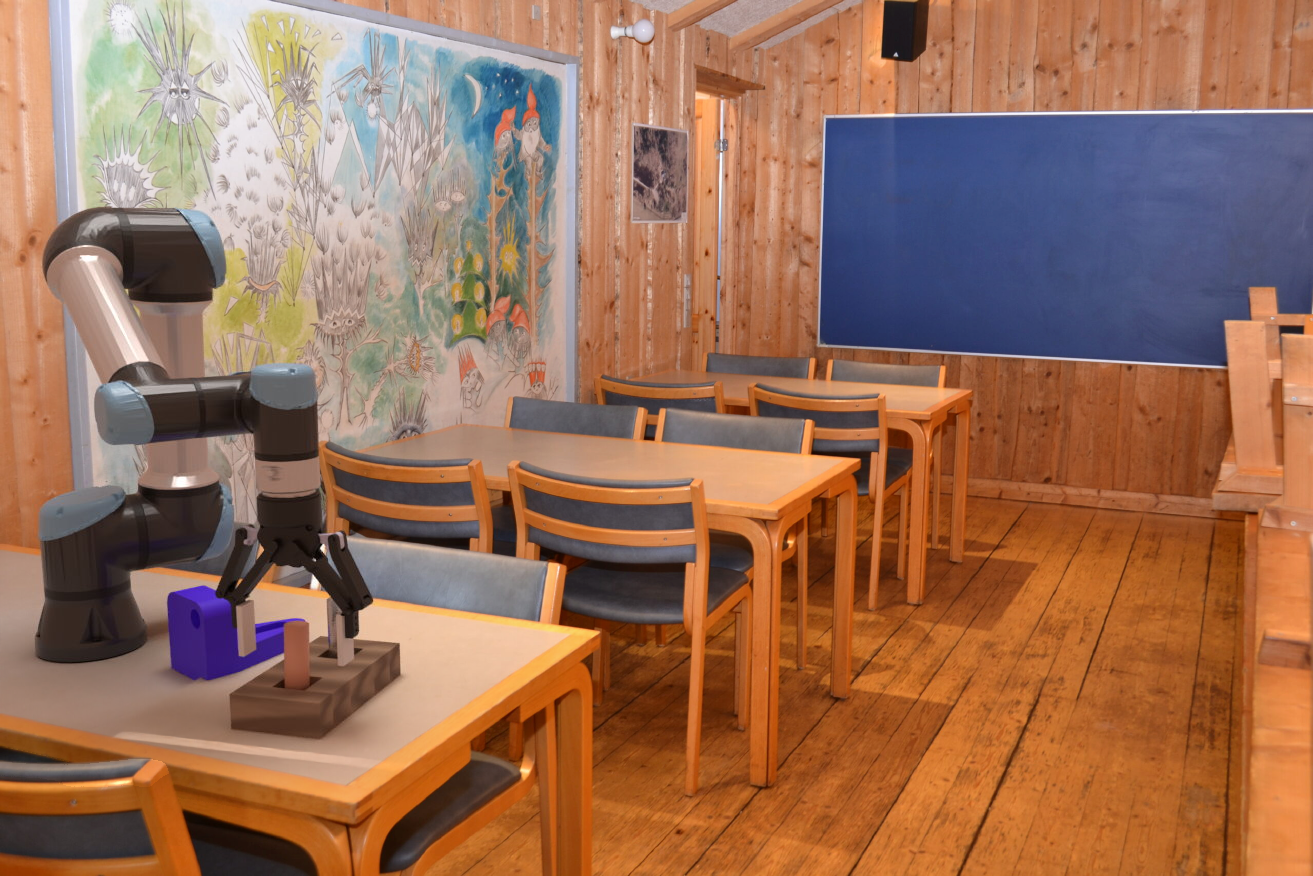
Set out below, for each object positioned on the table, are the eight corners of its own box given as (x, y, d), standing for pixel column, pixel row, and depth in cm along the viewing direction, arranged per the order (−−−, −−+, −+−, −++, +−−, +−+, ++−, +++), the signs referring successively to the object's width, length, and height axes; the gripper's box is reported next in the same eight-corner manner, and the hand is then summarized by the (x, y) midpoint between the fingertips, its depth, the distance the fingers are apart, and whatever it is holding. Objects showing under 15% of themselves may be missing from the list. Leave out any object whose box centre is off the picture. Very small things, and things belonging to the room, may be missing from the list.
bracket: (208, 688, 158) (203, 605, 157) (171, 669, 166) (166, 589, 164) (324, 655, 172) (321, 578, 170) (285, 638, 179) (282, 564, 177)
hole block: (320, 746, 140) (318, 703, 139) (231, 736, 143) (229, 694, 142) (400, 681, 161) (399, 643, 160) (322, 673, 164) (320, 636, 163)
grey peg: (326, 687, 156) (322, 601, 154) (337, 679, 159) (333, 594, 157) (346, 689, 155) (343, 603, 153) (357, 681, 158) (353, 596, 156)
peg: (280, 719, 145) (279, 626, 143) (293, 710, 148) (291, 619, 146) (302, 722, 145) (301, 629, 143) (314, 713, 148) (313, 622, 146)
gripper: (179, 491, 141) (189, 659, 144) (368, 503, 135) (374, 677, 139) (215, 479, 148) (224, 639, 152) (396, 490, 143) (401, 655, 146)
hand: (296, 657), depth 145 cm, fingers open, 13 cm apart
